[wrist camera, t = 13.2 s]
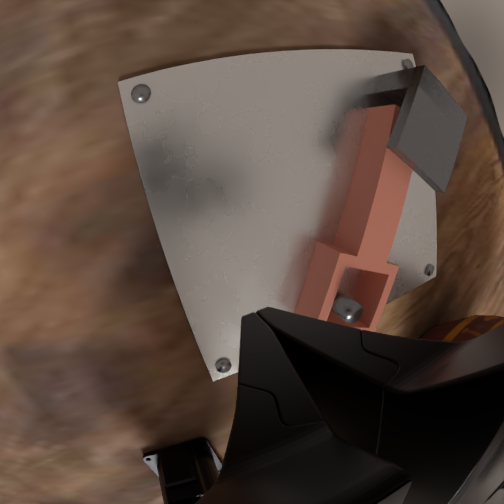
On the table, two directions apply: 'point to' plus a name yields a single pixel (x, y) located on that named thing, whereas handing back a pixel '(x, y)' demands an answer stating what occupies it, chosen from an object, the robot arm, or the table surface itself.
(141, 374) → the table surface
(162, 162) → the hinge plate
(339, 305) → the cylinder
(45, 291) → the table surface
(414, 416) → the robot arm
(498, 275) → the table surface
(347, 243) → the link
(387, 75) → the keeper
